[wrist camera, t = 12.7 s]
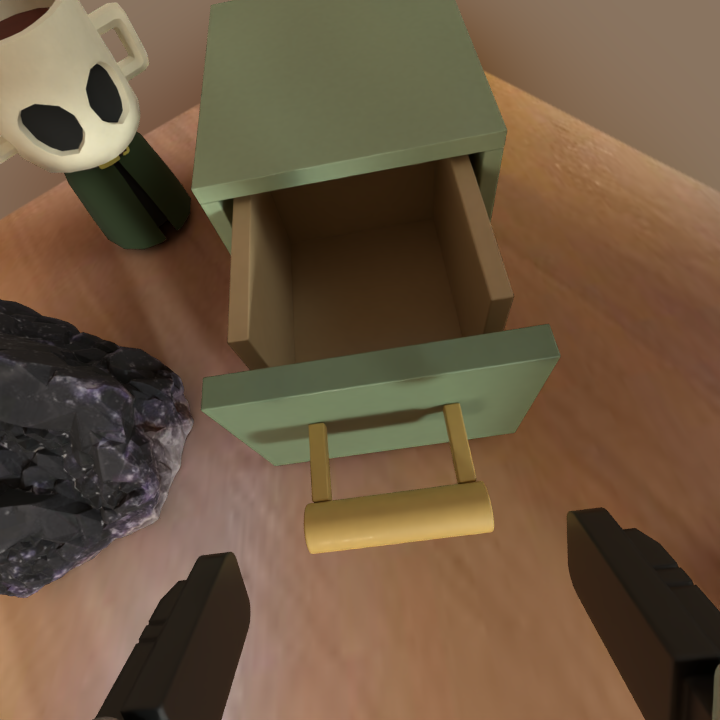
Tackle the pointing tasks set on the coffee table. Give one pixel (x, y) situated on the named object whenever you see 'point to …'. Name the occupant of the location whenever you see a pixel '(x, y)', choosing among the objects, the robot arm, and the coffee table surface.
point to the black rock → (78, 445)
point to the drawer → (376, 342)
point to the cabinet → (337, 97)
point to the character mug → (84, 115)
